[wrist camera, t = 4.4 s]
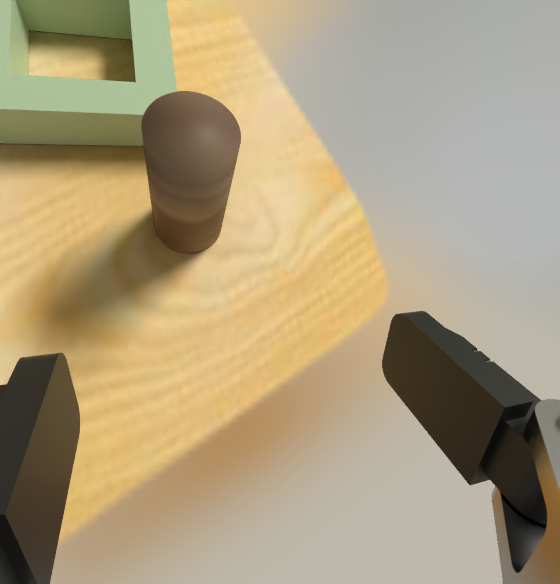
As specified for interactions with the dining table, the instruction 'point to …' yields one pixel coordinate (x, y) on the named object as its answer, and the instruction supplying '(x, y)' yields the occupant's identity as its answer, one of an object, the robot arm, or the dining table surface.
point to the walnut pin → (189, 167)
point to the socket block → (82, 92)
